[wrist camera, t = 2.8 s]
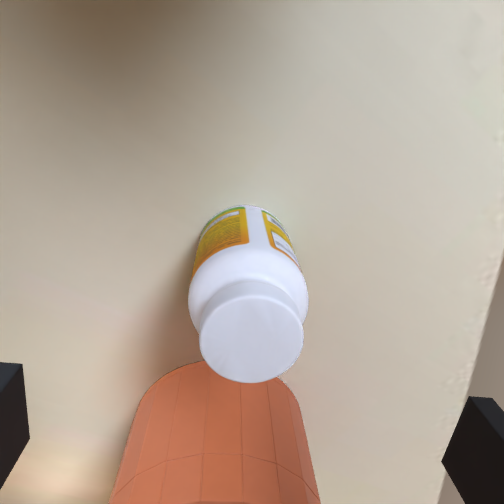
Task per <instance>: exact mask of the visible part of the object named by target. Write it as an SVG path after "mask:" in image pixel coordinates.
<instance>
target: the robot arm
mask: <svg viewBox="0 0 504 504" xmlns="http://www.w3.org/2000/svg"><path fill="white" fill-rule="evenodd" d="M29 439H30V435H29V425H28V415H27V405H26V395H25V386H24V376H23V366H22V364H17V363H3V362H0V489H1V488H2V486H3V484H4V483H5V481H6V479H7V477H8V476H9V474H10V472H11V470H12V469H13V467H14V465H15V463H16V462H17V460H18V458H19V457H20V455H21V453H22V451H23V450H24V448H25V446H26V444H27V443H28V441H29ZM441 462H442V464H443V465H444V467H445V469H446V471H447V472H448V474H449V476H450V478H451V479H452V481H453V483H454V485H455V486H456V488H457V490H458V492H459V493H460V495H461V497H462V498H463V501H464V502H465V504H504V411H503V410H502V409H501V408H500V407H499V406H498V405H497V403H496V402H495V401H494V400H493V398H485V397H484V398H483V397H471V396H469V397H468V400H467V402H466V404H465V407H464V409H463V411H462V414H461V416H460V418H459V421H458V423H457V426H456V428H455V430H454V433H453V435H452V437H451V440H450V442H449V444H448V447H447V449H446V452H445V454H444V456H443V459H442V461H441Z"/></svg>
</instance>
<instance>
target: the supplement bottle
mask: <svg viewBox="0 0 504 504" xmlns="http://www.w3.org/2000/svg"><path fill="white" fill-rule="evenodd" d="M308 303H309V299H308V291H307V286H306V282H305V279H304V276H303V274H302V271H301V268H300V266H299V263H298V261H297V258H296V256H295V253H294V250H293V248H292V245H291V242H290V240H289V237H288V235H287V233H286V230H285V229H284V227H283V225H282V224H281V222H280V221H279V220H278V219H277V218H276V217H275V216H274V215H273V214H271V213H270V212H268V211H266V210H264V209H262V208H259V207H256V206H251V205H239V206H234V207H230V208H227V209H225V210H223V211H221V212H219V213H217V214H216V215H215V216H214V217H212V218H211V219H210V220H209V222H208V223H207V224H206V226H205V227H204V229H203V231H202V233H201V236H200V239H199V243H198V248H197V253H196V258H195V263H194V267H193V272H192V276H191V282H190V287H189V296H188V307H189V313H190V317H191V320H192V322H193V325H194V327H195V328H196V330H197V331H198V333H199V346H200V351H201V354H202V356H203V358H204V360H205V361H206V363H207V364H208V365H209V367H210V368H211V369H212V370H214V371H215V372H216V373H217V374H219V375H220V376H222V377H224V378H227V379H229V380H232V381H236V382H240V383H258V382H264V381H268V380H271V379H273V378H275V377H278V376H280V375H281V374H283V373H284V372H286V371H287V370H288V369H289V368H290V367H291V366H292V365H293V364H294V363H295V362H296V360H297V359H298V357H299V355H300V353H301V350H302V347H303V342H304V333H303V327H302V325H303V323H304V321H305V318H306V316H307V311H308Z"/></svg>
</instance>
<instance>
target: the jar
mask: <svg viewBox="0 0 504 504" xmlns="http://www.w3.org/2000/svg"><path fill="white" fill-rule="evenodd" d="M109 504H321V503H320V499H319V494H318V489H317V485H316V480H315V475H314V471H313V466H312V461H311V457H310V452H309V447H308V443H307V438H306V433H305V429H304V424H303V420H302V415H301V411H300V407H299V404H298V402H297V400H296V398H295V396H294V395H293V393H292V392H291V390H290V389H289V388H288V387H287V386H286V385H285V384H284V383H283V382H282V381H281V380H280V379H279V378H277V377H275V378H273V379H271V380H268V381H264V382H258V383H240V382H236V381H232V380H229V379H227V378H224V377H222V376H220V375H219V374H217V373H216V372H215V371H214V370H212V369H211V368H210V367H209V365H208V364H207V363H206V361H200V362H195V363H191V364H188V365H185V366H182V367H180V368H177V369H175V370H173V371H171V372H169V373H167V374H166V375H164V376H163V377H162V378H160V379H159V380H158V381H157V382H155V383H154V384H153V385H152V386H151V387H150V388H149V390H148V391H147V392H146V393H145V395H144V396H143V398H142V400H141V401H140V404H139V406H138V409H137V412H136V415H135V417H134V419H133V422H132V426H131V429H130V433H129V436H128V439H127V443H126V446H125V450H124V453H123V456H122V460H121V463H120V467H119V470H118V473H117V477H116V480H115V484H114V487H113V490H112V494H111V497H110V501H109Z"/></svg>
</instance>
